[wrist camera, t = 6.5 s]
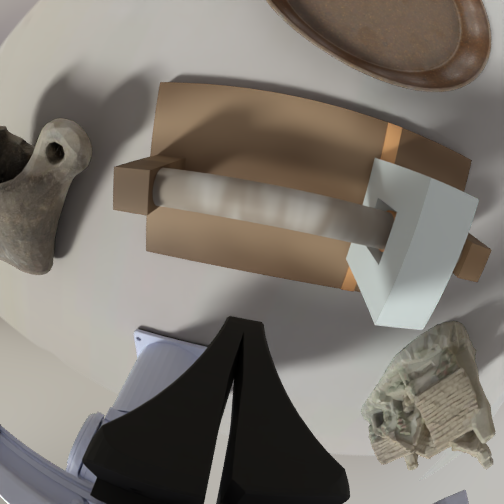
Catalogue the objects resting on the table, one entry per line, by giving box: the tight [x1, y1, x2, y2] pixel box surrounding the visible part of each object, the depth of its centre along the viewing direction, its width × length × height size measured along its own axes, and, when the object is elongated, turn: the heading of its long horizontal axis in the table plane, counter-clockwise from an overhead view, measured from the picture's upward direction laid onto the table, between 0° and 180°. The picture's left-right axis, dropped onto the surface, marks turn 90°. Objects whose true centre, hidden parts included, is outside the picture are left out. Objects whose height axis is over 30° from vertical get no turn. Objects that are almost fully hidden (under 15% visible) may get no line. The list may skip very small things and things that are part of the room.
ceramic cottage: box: [361, 321, 495, 470], centre depth 19 cm, size 16×16×15 cm
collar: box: [346, 158, 479, 330], centre depth 13 cm, size 7×3×7 cm, turn 171°
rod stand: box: [113, 82, 491, 292], centre depth 15 cm, size 12×22×6 cm, turn 80°
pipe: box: [0, 118, 92, 275], centre depth 16 cm, size 16×9×15 cm
